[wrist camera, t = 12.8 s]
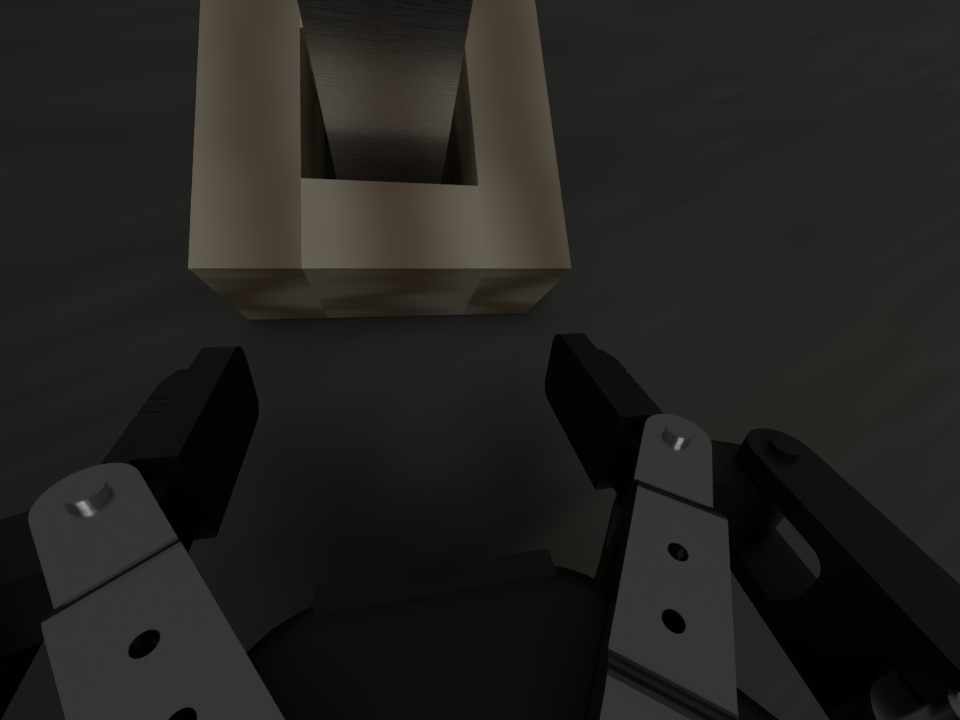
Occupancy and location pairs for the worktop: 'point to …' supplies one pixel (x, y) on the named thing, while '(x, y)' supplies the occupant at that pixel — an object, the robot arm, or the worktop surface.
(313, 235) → the well block
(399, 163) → the grey square pillar
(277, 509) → the worktop surface
